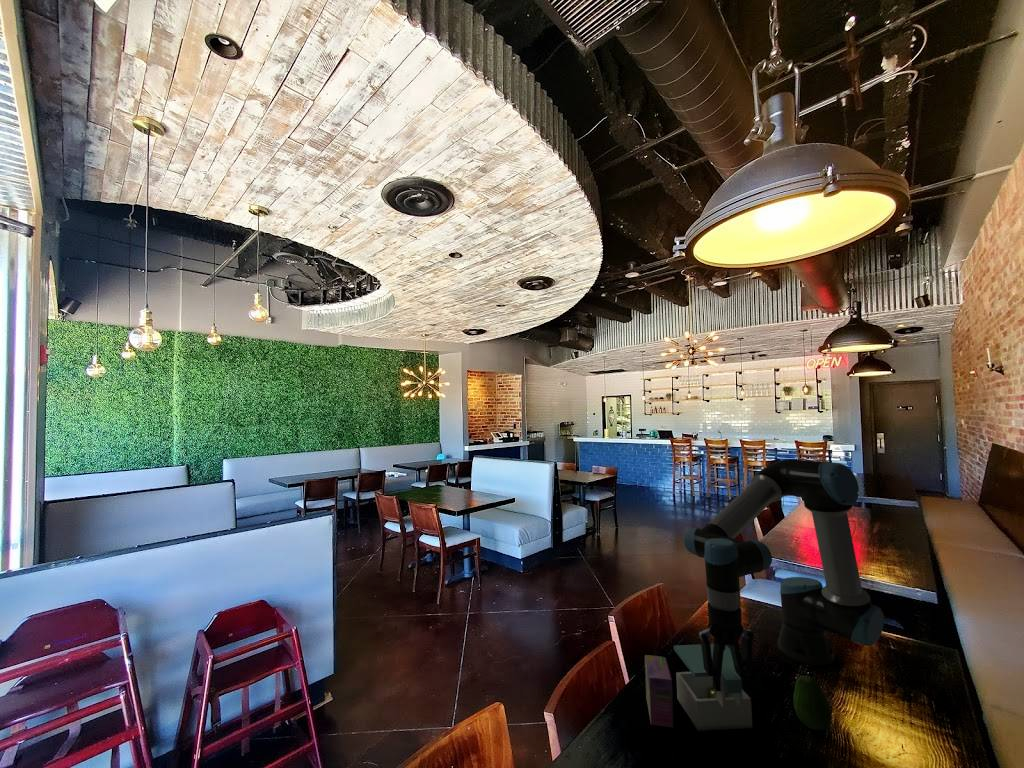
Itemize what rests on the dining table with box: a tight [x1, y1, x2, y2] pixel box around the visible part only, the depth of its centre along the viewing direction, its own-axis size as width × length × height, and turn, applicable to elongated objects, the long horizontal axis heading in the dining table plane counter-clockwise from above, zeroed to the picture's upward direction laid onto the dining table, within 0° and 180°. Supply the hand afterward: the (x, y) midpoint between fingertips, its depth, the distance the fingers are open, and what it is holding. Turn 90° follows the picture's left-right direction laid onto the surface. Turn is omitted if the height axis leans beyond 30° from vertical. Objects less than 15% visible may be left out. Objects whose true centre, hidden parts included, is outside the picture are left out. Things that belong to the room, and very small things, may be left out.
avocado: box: [792, 675, 832, 731], centre depth 106 cm, size 8×8×12 cm
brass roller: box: [708, 689, 728, 699], centre depth 115 cm, size 4×3×3 cm
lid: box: [673, 643, 748, 693], centre depth 110 cm, size 15×18×3 cm
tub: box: [675, 671, 753, 732], centre depth 112 cm, size 14×12×7 cm
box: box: [644, 654, 674, 728], centre depth 112 cm, size 10×6×12 cm, turn 168°
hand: (729, 702), depth 103 cm, fingers closed on lid, 3 cm apart
